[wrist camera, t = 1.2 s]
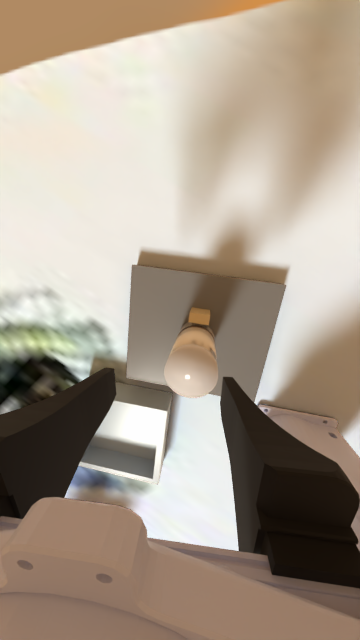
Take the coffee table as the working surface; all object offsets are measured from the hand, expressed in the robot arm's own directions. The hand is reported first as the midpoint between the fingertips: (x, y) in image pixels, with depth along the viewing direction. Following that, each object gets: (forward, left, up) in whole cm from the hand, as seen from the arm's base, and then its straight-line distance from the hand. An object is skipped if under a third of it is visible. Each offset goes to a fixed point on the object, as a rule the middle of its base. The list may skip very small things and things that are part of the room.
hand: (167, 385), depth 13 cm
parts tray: (+7, +15, -11) cm, 20 cm away
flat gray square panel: (-1, 0, -11) cm, 11 cm away
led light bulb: (-1, 0, -10) cm, 10 cm away
